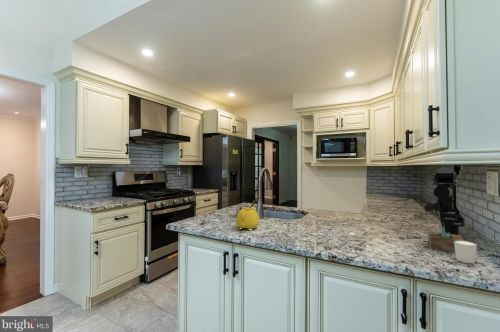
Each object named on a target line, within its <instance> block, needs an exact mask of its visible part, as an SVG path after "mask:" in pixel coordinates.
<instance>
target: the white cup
mask: <svg viewBox="0 0 500 332" xmlns="http://www.w3.org/2000/svg"><path fill="white" fill-rule="evenodd" d="M454 246H455V252H454V253H455V260H456V261H459V262H462V263H466V264H474V263H476V256H477V248H478V247H477V246H478V244H476V243H474V242H472V241H466V240H465V241H454Z"/></svg>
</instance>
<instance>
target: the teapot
mask: <svg viewBox="0 0 500 332" xmlns="http://www.w3.org/2000/svg"><path fill="white" fill-rule="evenodd" d="M260 223H261V222H260V216H259V214H258V212H257V210H256V209H255V206H251V208H250V207H245V209H244V208H243V209H240V210H239V211H238V213H237V215H236V219H235V225H236V226H237V228H243V229H248V230H249V229H256V228H257V227H258V226H259V225H260ZM255 227H256V228H255Z"/></svg>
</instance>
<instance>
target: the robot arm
mask: <svg viewBox="0 0 500 332" xmlns="http://www.w3.org/2000/svg"><path fill="white" fill-rule="evenodd" d="M462 171H463V164H462V165H441V164H440V168H438V169H436V171H434V173H433V183H432V185H434V186H435V185H436V187H434V189H433V195H434V197H435V201H433V202H432V201H431V202H426V203H423V204H422V206H423V209H424V211H425V212H426V213H428V212H431V211H434V212H435V214H436V215H437V216H438V218H439V221H440V225H441V227H444V228H445V232H446V233H449V232H450V234H454V235H460V227H465V218H464V216H463V214H462V212H461V209H460V208H459V207H458V178H459V177H460V176H461V174H462V173H461V172H462ZM460 236H461V235H460Z"/></svg>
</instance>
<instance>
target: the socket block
mask: <svg viewBox="0 0 500 332" xmlns="http://www.w3.org/2000/svg"><path fill="white" fill-rule="evenodd" d="M427 232H428V234H427V237H428V239H427V240H428V241H427V242H428V244H429V248H430V249H432V250H437V251H444V252H451V253H452V252H453V253H455V246H454V241H466V240H465V239H464V238H463V237H462V236H461V235H454V234H450V238H446V237H441V232H434V231H427Z"/></svg>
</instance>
